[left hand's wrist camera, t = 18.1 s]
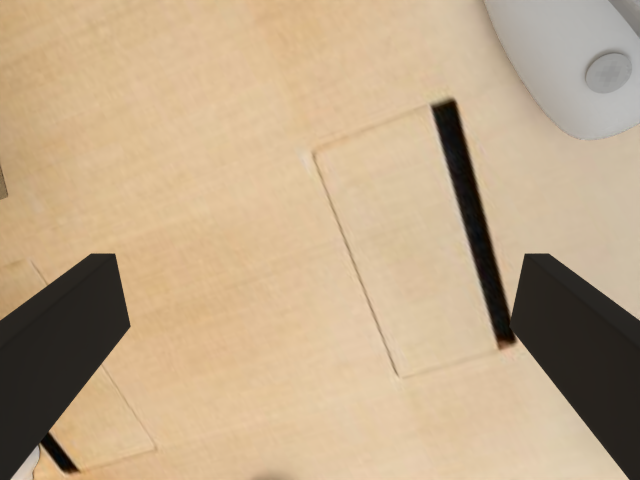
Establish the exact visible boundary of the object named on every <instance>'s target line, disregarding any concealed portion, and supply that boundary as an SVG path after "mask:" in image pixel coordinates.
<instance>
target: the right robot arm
mask: <svg viewBox="0 0 640 480" xmlns="http://www.w3.org/2000/svg"><path fill="white" fill-rule="evenodd" d="M38 460H39V447H38V445H37V447H36V448H35V449H34V450H33V452H32V453H31V454H30V456H29V457H28V458H27V459H26V461H25V462H24V463H23V464H22V466H21V467H20V468H19V470H18V471H17V472H16V473H15V475H14V476H13V477H12V479H11V480H33V474H32V472H33V470H34V468H35V466H36V465H37V463H38Z"/></svg>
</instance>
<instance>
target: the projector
mask: <svg viewBox="0 0 640 480" xmlns="http://www.w3.org/2000/svg"><path fill="white" fill-rule="evenodd" d="M484 3H485V6H486V9H487V12H488V14H489V17H490V19H491V22H492V24H493V27H494V29H495V31H496V34H497V36H498V38H499V40H500V42H501V44H502V46H503V48H504V50H505V52H506V54H507V56H508V58H509V60H510V62H511V63H512V65H513V67H514V69H515V70H516V72H517V74H518V76H519V77H520V79H521V80H522V82H523V84H524V85H525V87H526V88H527V90H528V91H529V93H530V94H531V96H532V97H533V98H534V100H535V101H536V103H537V104H538V105H539V106H540V108H541V109H542V110H543V112H544V113H545V114H546V115H547V116H548V117H549V119H550V120H551V121H552V122H553V123H554V124H555V125H556V126H557V127H559V128H560V129H561V130H562V131H564V132H565V133H567V134H568V135H570V136H572V137H574V138H577V139H581V140H597V139H603V138H607V137H611V136H614V135H617V134H619V133H621V132H624V131H626V130H628V129H630V128H632V127H634V126H636V125H638V124H639V123H640V0H484Z"/></svg>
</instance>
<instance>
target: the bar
mask: <svg viewBox="0 0 640 480" xmlns="http://www.w3.org/2000/svg"><path fill="white" fill-rule="evenodd" d="M6 197H8V195H7V191H6V187H5V183H4V179H3V175H2V171H1V167H0V200H1V199H3V198H6Z"/></svg>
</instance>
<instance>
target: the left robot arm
mask: <svg viewBox="0 0 640 480" xmlns="http://www.w3.org/2000/svg"><path fill="white" fill-rule="evenodd" d="M130 327H131V326H130V321H129V317H128V312H127V307H126V303H125V298H124V293H123V288H122V284H121V279H120V274H119V270H118V265H117V260H116V255H115V254H90V255H89V256H87V257H86V258H85V259H83V260H82V261H81V262H79V263H78V264H76V265H75V266H74V267H72V268H71V269H70V270H68V271H67V272H66V273H64V274H63V275H62V276H60V277H59V278H57V279H56V280H55V281H53V282H52V283H51V284H49V285H48V286H47V287H45V288H44V289H43V290H41V291H40V292H39V293H37V294H36V295H34V296H33V297H32V298H30V299H29V300H28V301H26V302H25V303H24V304H22V305H21V306H20V307H18V308H17V309H15V310H14V311H13V312H11V313H10V314H9V315H7V316H6V317H5V318H3V319H2V320H1V321H0V480H11V479H12V477H13V476H14V475H15V473H16V472H17V471H18V470H19V468H20V467H21V466H22V464H23V463H24V462H25V461H26V459H27V458H28V457H29V456H30V454H31V453H32V452H33V450H34V449H35V448H36V447H37V445H38V444H39V443H40V442H41V440H42V439H43V438H44V436H45V435H46V434H47V433H48V431H49V430H50V429H51V427H52V426H53V425H54V424H55V422H56V421H57V420H58V419H59V417H60V416H61V415H62V413H63V412H64V411H65V410H66V408H67V407H68V406H69V404H70V403H71V402H72V401H73V399H74V398H75V397H76V396H77V394H78V393H79V392H80V390H81V389H82V388H83V387H84V385H85V384H86V383H87V382H88V380H89V379H90V378H91V376H92V375H93V374H94V373H95V371H96V370H97V369H98V367H99V366H100V365H101V364H102V362H103V361H104V360H105V359H106V357H107V356H108V355H109V353H110V352H111V351H112V350H113V348H114V347H115V346H116V345H117V343H118V342H119V341H120V339H121V338H122V337H123V336H124V334H125V333H126V332H127V330H128V329H129V328H130ZM509 327H510V328H511V329H512V330H513V332H514V333H515V334H516V336H517V337H518V338H519V339H520V341H521V342H522V343H523V345H524V346H525V347H526V348H527V350H528V351H529V352H530V353H531V355H532V356H533V357H534V359H535V360H536V361H537V362H538V364H539V365H540V366H541V367H542V369H543V370H544V371H545V373H546V374H547V375H548V376H549V378H550V379H551V380H552V382H553V383H554V384H555V385H556V387H557V388H558V389H559V390H560V392H561V393H562V394H563V396H564V397H565V398H566V399H567V401H568V402H569V403H570V404H571V406H572V407H573V408H574V410H575V411H576V412H577V413H578V415H579V416H580V417H581V419H582V420H583V421H584V422H585V424H586V425H587V426H588V427H589V429H590V430H591V431H592V433H593V434H594V435H595V436H596V438H597V439H598V440H599V442H600V443H601V444H602V445H603V447H604V448H605V449H606V450H607V452H608V453H609V454H610V456H611V457H612V458H613V459H614V461H615V462H616V463H617V464H618V466H619V467H620V468H621V470H622V471H623V472H624V473H625V475H626V476H627V477H628V479H629V480H640V321H639V320H638V319H637V318H635V317H634V316H633V315H631V314H630V313H629V312H627V311H626V310H625V309H623V308H622V307H620V306H619V305H618V304H616V303H615V302H614V301H612V300H611V299H610V298H608V297H607V296H606V295H604V294H603V293H601V292H600V291H599V290H597V289H596V288H595V287H593V286H592V285H591V284H589V283H588V282H587V281H585V280H584V279H583V278H581V277H580V276H578V275H577V274H576V273H574V272H573V271H572V270H570V269H569V268H568V267H566V266H565V265H564V264H562V263H561V262H559V261H558V260H557V259H555V258H554V257H553V256H551V255H550V254H525V255H524V260H523V265H522V270H521V274H520V279H519V284H518V288H517V293H516V298H515V303H514V307H513V312H512V317H511V321H510V326H509Z"/></svg>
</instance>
